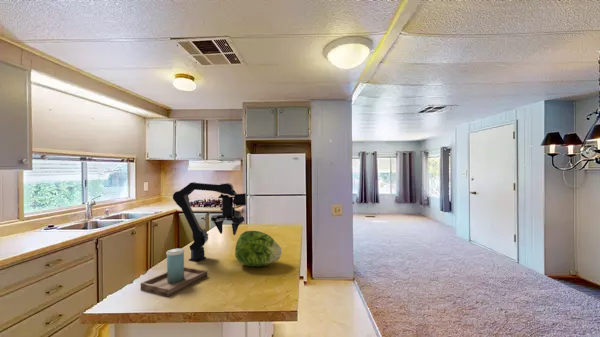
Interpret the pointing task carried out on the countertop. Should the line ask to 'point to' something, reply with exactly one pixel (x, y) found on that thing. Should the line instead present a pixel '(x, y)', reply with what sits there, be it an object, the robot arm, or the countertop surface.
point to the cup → (175, 265)
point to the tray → (168, 289)
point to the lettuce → (257, 249)
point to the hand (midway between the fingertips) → (227, 234)
